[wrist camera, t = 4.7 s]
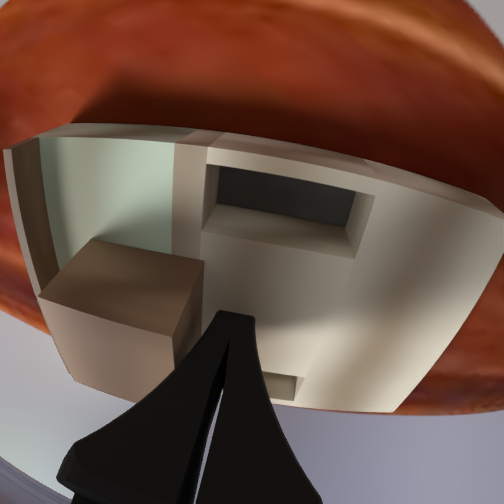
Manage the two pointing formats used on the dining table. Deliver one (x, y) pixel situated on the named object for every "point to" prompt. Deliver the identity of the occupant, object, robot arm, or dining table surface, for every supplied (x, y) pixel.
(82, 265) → the walnut block
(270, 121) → the dining table surface
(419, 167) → the dining table surface
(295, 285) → the box
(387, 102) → the dining table surface
